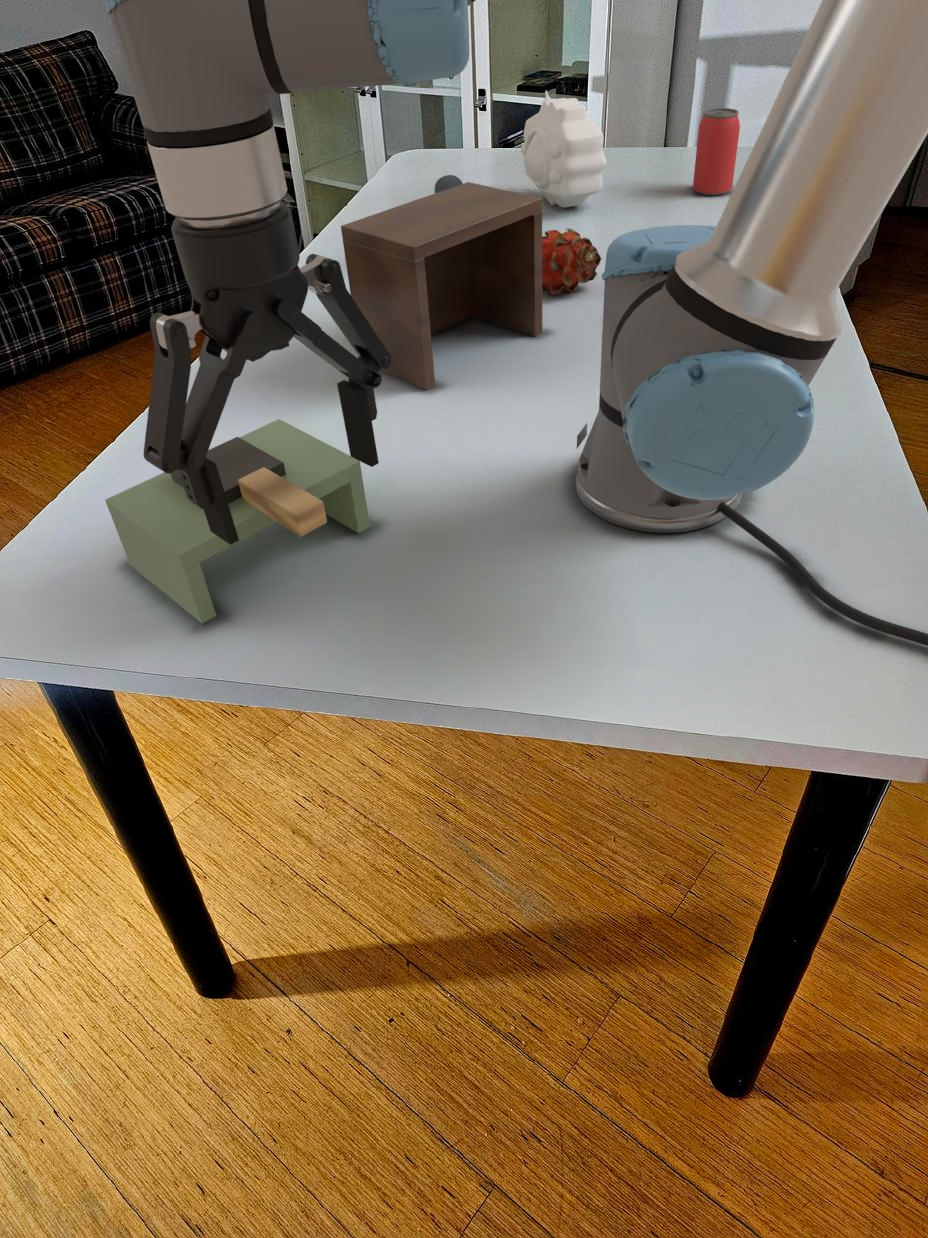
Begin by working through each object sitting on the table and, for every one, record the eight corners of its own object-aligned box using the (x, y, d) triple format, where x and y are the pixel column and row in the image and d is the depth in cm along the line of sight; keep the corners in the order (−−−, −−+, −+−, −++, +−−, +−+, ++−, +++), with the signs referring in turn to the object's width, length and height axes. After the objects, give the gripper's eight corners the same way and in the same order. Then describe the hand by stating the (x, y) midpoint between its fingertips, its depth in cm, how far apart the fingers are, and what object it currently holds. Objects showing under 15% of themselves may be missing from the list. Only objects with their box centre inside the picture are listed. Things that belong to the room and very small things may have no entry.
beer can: (685, 188, 154) (692, 110, 146) (719, 183, 155) (728, 105, 147) (704, 198, 149) (713, 118, 141) (739, 192, 150) (749, 112, 142)
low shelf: (370, 527, 81) (360, 460, 77) (202, 624, 72) (179, 555, 68) (292, 482, 88) (278, 418, 84) (130, 565, 79) (104, 499, 74)
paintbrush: (518, 220, 146) (517, 187, 143) (494, 227, 144) (493, 195, 141) (445, 197, 158) (443, 167, 155) (423, 204, 156) (420, 173, 153)
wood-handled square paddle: (349, 510, 71) (345, 489, 70) (277, 550, 67) (272, 528, 66) (240, 448, 80) (235, 428, 78) (172, 480, 76) (166, 459, 75)
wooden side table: (542, 332, 112) (542, 197, 101) (426, 390, 101) (413, 246, 91) (474, 310, 118) (468, 181, 108) (360, 362, 108) (340, 225, 98)
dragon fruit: (605, 303, 121) (520, 314, 125) (606, 249, 123) (522, 261, 127) (597, 266, 113) (506, 278, 117) (597, 208, 115) (507, 222, 119)
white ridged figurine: (566, 185, 159) (567, 83, 149) (613, 212, 146) (618, 102, 136) (509, 196, 157) (507, 92, 146) (553, 223, 144) (553, 112, 133)
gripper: (345, 152, 64) (386, 419, 77) (12, 257, 51) (132, 552, 65) (416, 166, 59) (446, 445, 73) (70, 283, 47) (185, 593, 61)
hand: (298, 496), depth 69 cm, fingers open, 13 cm apart
